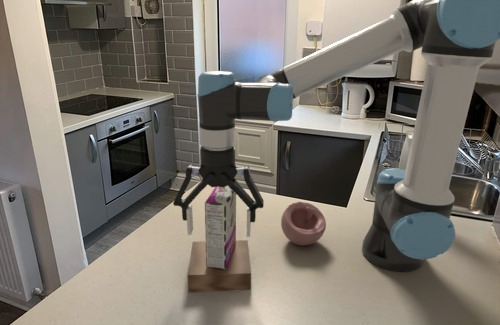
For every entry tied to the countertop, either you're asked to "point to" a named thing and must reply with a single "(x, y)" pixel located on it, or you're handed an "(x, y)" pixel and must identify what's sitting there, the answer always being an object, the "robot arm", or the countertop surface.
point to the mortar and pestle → (303, 223)
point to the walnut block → (219, 270)
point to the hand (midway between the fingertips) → (219, 233)
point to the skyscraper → (405, 150)
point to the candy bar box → (220, 227)
